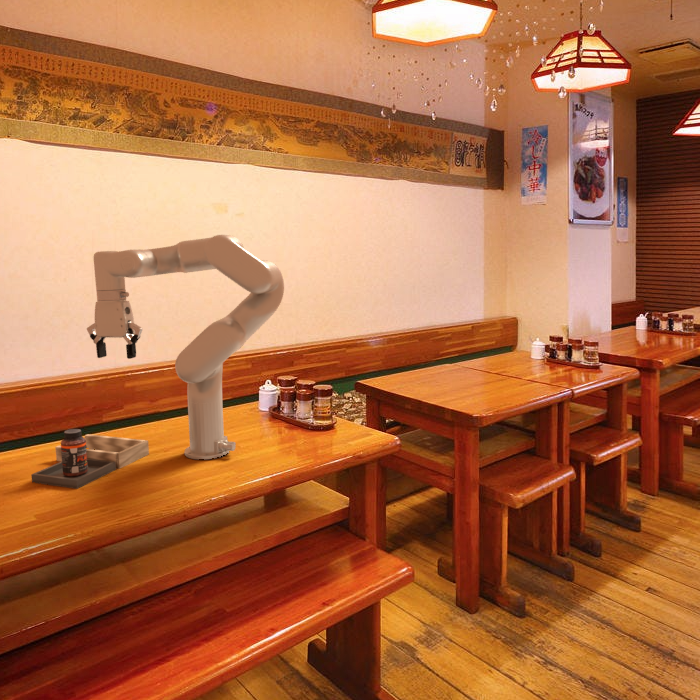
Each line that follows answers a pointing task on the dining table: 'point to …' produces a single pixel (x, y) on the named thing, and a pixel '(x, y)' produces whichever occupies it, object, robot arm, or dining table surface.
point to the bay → (113, 449)
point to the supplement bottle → (74, 453)
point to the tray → (57, 478)
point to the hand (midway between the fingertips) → (116, 357)
